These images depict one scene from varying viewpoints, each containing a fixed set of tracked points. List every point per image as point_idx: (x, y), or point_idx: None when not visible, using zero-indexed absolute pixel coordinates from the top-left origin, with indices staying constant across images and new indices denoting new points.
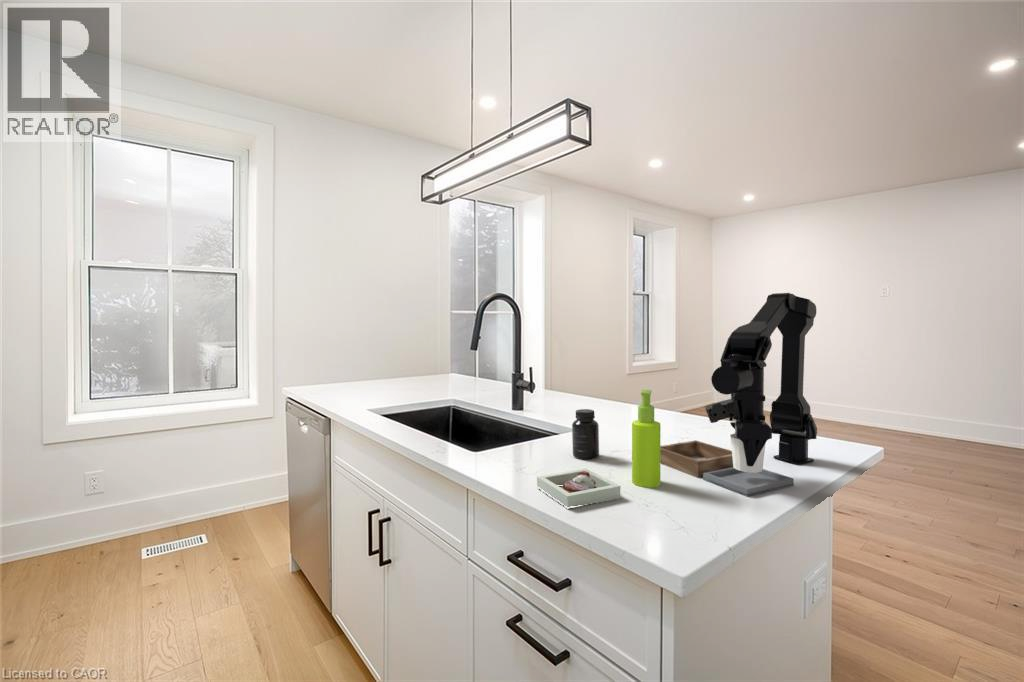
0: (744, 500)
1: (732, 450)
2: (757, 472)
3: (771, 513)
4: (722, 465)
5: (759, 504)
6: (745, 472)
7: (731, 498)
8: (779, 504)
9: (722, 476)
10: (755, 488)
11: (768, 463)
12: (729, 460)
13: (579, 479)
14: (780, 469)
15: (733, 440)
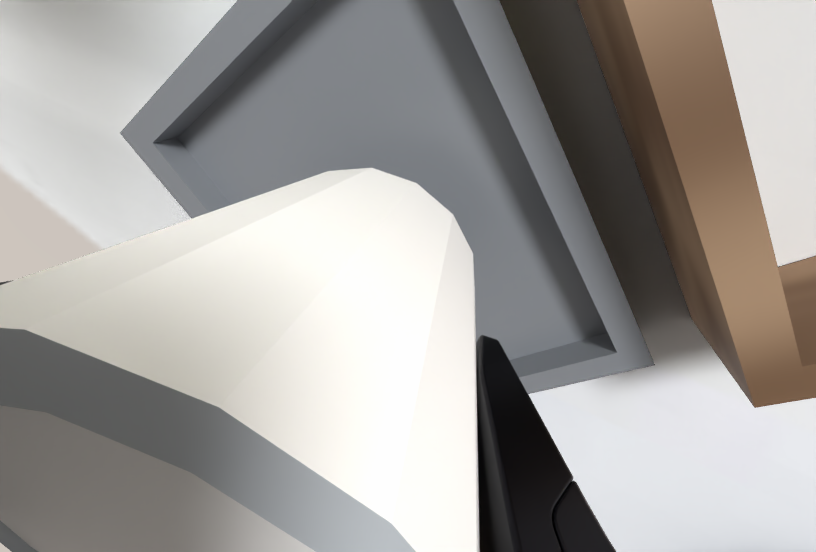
0: (99, 85)
1: (263, 209)
2: (537, 353)
3: (11, 155)
4: (645, 146)
5: (85, 147)
6: (553, 291)
7: (90, 7)
8: (131, 238)
9: (463, 77)
10: (181, 196)
11: (753, 493)
12: (689, 245)
13: None
14: (623, 479)
15: (5, 283)
